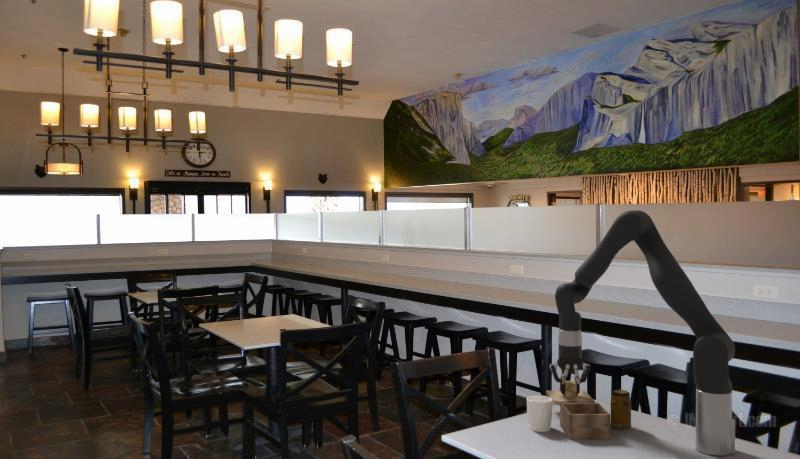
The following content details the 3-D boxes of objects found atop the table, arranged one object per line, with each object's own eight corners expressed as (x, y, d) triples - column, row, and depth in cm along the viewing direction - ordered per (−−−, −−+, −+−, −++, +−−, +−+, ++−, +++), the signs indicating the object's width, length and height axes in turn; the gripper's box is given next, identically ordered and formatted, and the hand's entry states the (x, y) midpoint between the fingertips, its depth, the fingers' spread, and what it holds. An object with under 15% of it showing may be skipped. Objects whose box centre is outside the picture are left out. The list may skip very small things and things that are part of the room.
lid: (584, 395, 222) (584, 377, 222) (595, 407, 209) (595, 387, 209) (546, 395, 223) (546, 377, 223) (554, 407, 210) (554, 387, 210)
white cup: (557, 432, 200) (557, 400, 200) (535, 436, 197) (535, 403, 197) (542, 425, 207) (542, 394, 207) (521, 428, 205) (521, 396, 204)
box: (598, 428, 204) (598, 403, 204) (610, 441, 192) (610, 414, 192) (560, 428, 204) (560, 403, 204) (569, 441, 192) (569, 414, 192)
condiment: (617, 425, 207) (617, 387, 207) (642, 431, 201) (642, 393, 201) (604, 429, 203) (604, 391, 203) (629, 436, 196) (629, 397, 196)
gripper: (551, 345, 212) (551, 397, 212) (594, 345, 212) (594, 397, 212) (546, 340, 219) (546, 391, 220) (588, 340, 219) (588, 391, 220)
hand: (570, 394), depth 216 cm, fingers closed on lid, 3 cm apart
